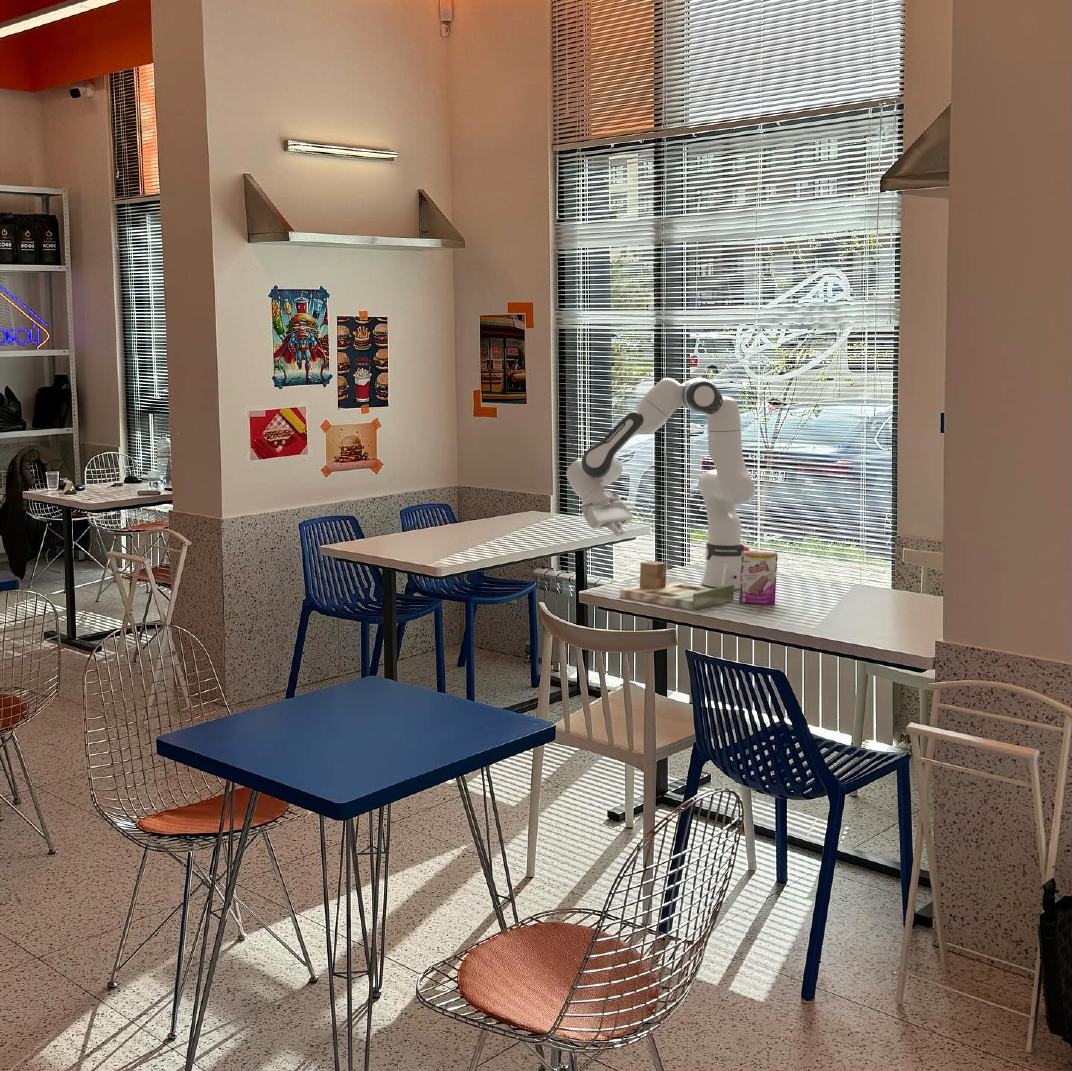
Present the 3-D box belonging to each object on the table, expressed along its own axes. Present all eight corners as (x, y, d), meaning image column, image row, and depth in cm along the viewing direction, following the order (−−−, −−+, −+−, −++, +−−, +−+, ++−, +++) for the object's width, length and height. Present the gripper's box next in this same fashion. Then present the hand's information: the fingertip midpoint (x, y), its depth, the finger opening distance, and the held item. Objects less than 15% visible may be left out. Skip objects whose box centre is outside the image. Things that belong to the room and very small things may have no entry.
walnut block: (650, 584, 410) (651, 560, 409) (665, 587, 407) (666, 562, 405) (639, 587, 406) (640, 562, 405) (654, 589, 402) (655, 565, 401)
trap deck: (619, 597, 402) (620, 581, 401) (659, 588, 418) (659, 573, 417) (695, 610, 383) (696, 594, 382) (733, 600, 399) (734, 584, 399)
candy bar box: (739, 604, 394) (741, 552, 391) (738, 601, 399) (740, 550, 396) (775, 605, 393) (778, 553, 390) (774, 602, 397) (776, 551, 395)
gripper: (584, 498, 408) (607, 531, 403) (621, 494, 423) (644, 525, 418) (573, 510, 412) (596, 543, 407) (611, 506, 427) (633, 537, 422)
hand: (620, 534), depth 413 cm, fingers closed
